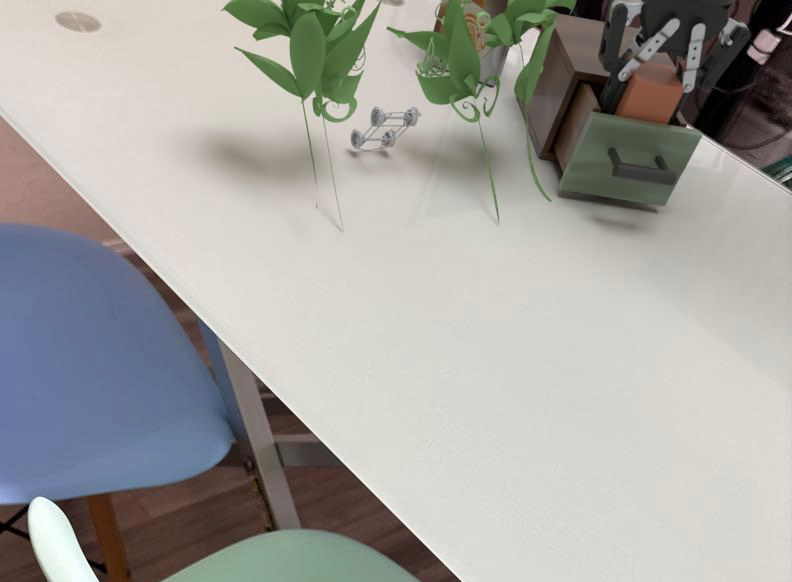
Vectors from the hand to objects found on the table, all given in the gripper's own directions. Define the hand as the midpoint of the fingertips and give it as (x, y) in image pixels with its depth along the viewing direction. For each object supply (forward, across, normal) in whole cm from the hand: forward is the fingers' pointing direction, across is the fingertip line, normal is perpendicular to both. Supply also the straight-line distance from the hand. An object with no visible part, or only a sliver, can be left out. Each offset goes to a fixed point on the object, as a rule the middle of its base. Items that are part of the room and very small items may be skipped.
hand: (633, 118), depth 99 cm
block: (0, 0, 0) cm, 0 cm away
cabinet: (+8, 0, +11) cm, 13 cm away
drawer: (+7, 0, 0) cm, 7 cm away
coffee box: (+8, -12, +24) cm, 28 cm away
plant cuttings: (+8, -24, -6) cm, 26 cm away
